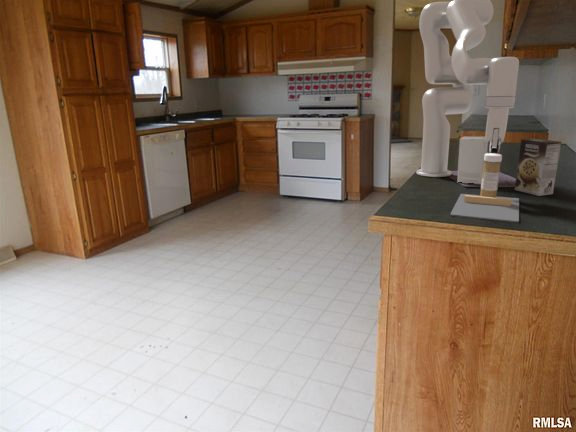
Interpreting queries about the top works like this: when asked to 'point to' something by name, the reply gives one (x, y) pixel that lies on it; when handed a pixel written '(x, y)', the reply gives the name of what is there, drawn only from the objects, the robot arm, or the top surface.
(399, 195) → the top surface
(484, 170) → the sprinkles bottle
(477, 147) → the skincare box
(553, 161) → the coffee box
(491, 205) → the mat
